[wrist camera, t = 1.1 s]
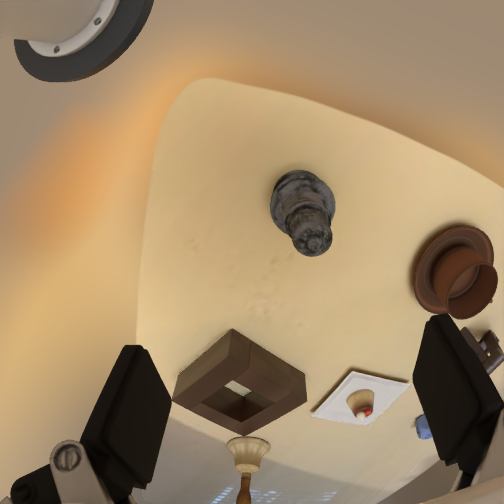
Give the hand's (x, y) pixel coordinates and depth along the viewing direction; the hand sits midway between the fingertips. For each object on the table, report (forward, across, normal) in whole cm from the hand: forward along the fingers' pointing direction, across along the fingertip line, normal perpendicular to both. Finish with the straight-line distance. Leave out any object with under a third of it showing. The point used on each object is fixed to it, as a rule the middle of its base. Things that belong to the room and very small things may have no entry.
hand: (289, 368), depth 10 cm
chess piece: (+24, -2, +2) cm, 24 cm away
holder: (+23, +8, +26) cm, 36 cm away
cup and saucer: (+24, -21, +12) cm, 33 cm away
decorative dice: (+24, -25, +47) cm, 58 cm away
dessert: (+24, -10, +35) cm, 43 cm away
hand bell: (+24, +10, +48) cm, 55 cm away
